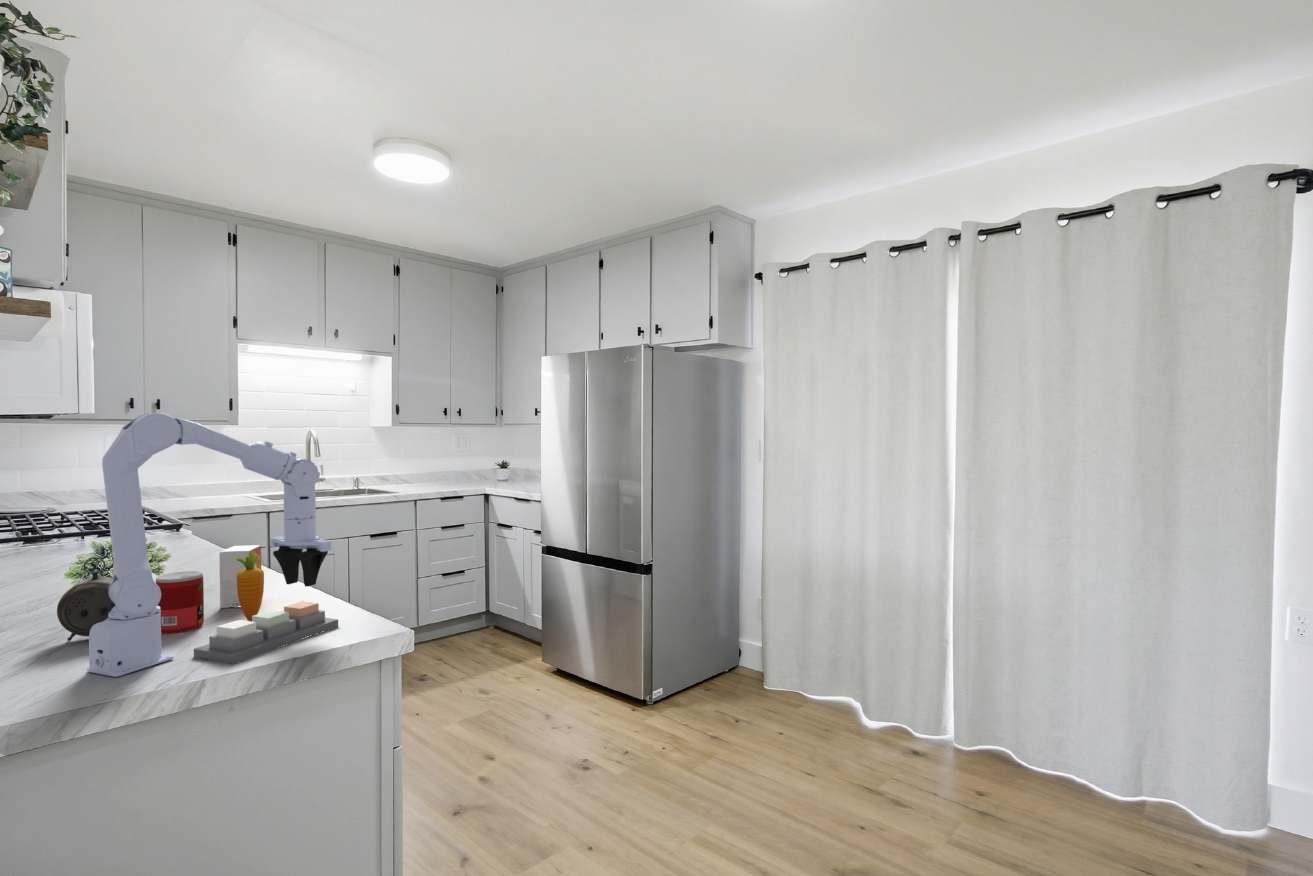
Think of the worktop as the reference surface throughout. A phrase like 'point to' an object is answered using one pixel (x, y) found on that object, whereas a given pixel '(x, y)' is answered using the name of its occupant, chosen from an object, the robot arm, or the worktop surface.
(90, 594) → the alarm clock
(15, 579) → the worktop surface
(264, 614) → the sage key
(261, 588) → the carrot
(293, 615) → the terracotta key
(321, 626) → the keypad console
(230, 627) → the offwhite key
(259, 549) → the small box
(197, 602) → the canned food
